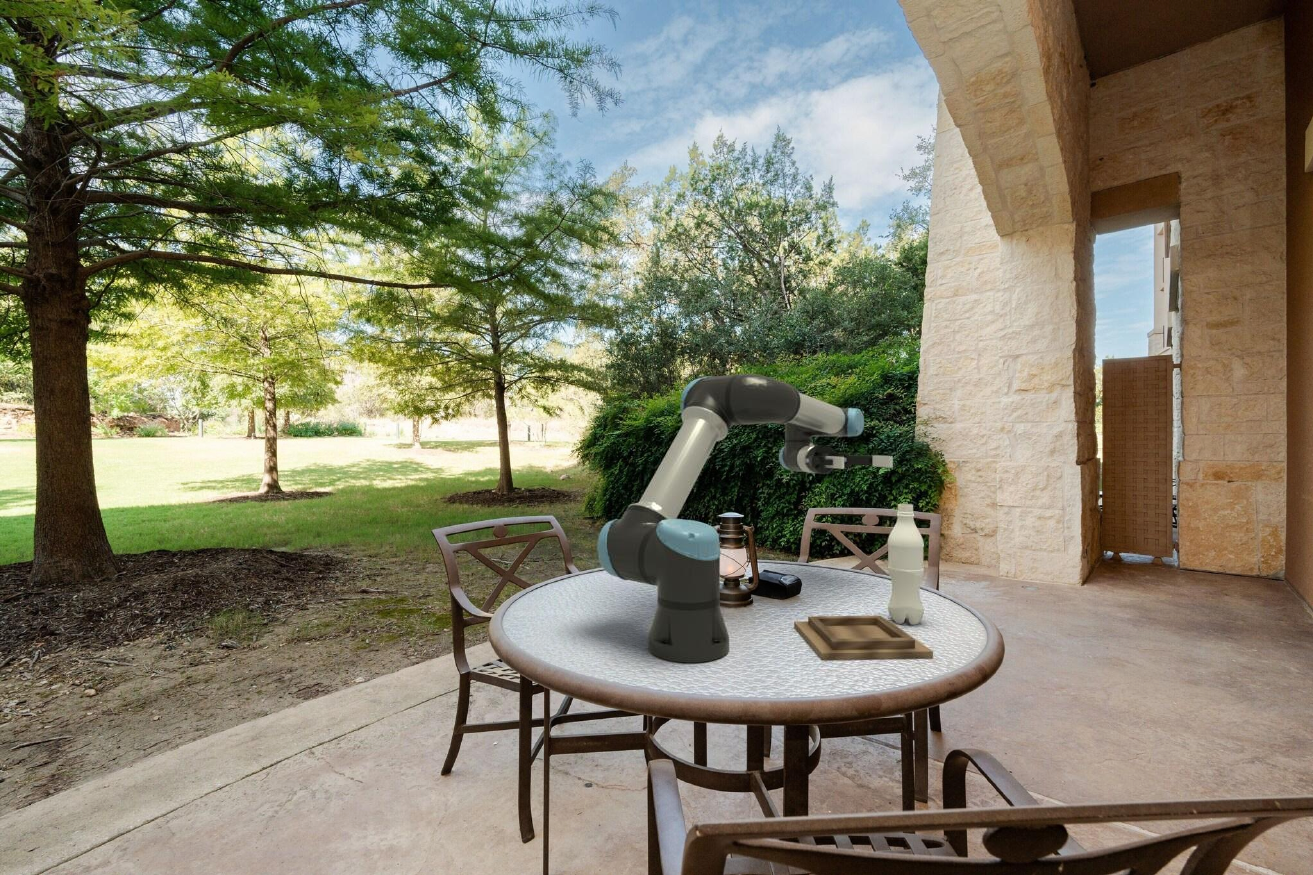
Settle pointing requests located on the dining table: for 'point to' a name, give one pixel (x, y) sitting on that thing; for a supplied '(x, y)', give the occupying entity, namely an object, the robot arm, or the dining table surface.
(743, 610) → the dining table surface
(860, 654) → the walnut tray
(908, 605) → the water bottle
